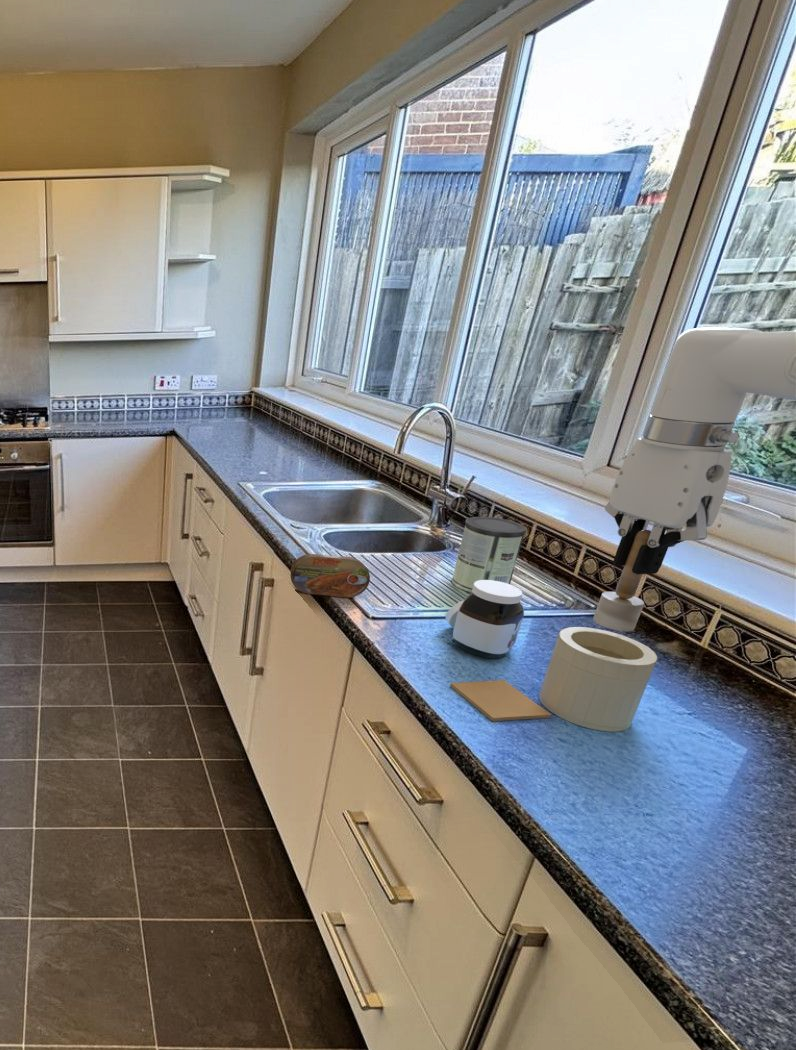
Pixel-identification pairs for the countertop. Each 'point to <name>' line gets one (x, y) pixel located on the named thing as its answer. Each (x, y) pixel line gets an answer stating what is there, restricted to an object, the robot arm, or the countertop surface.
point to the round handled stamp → (623, 594)
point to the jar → (596, 678)
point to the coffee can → (487, 551)
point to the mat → (499, 700)
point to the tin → (330, 575)
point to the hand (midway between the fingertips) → (634, 568)
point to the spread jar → (487, 619)
